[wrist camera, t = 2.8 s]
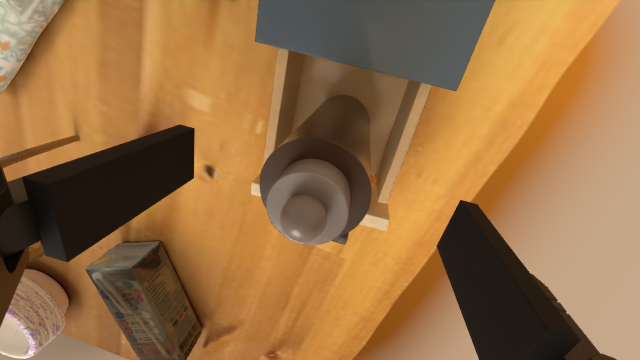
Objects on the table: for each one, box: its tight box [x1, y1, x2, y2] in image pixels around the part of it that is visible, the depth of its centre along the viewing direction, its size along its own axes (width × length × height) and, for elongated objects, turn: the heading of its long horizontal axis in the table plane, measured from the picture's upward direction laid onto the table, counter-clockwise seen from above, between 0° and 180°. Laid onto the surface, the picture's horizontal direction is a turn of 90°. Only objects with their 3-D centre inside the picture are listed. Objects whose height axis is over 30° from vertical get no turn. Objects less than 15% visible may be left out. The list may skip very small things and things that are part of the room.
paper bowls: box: [0, 269, 69, 359], centre depth 45 cm, size 15×15×8 cm
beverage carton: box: [85, 241, 202, 360], centre depth 40 cm, size 8×19×7 cm, turn 9°
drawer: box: [251, 48, 432, 245], centre depth 24 cm, size 20×12×7 cm, turn 167°
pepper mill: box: [259, 95, 372, 245], centre depth 18 cm, size 5×5×18 cm
